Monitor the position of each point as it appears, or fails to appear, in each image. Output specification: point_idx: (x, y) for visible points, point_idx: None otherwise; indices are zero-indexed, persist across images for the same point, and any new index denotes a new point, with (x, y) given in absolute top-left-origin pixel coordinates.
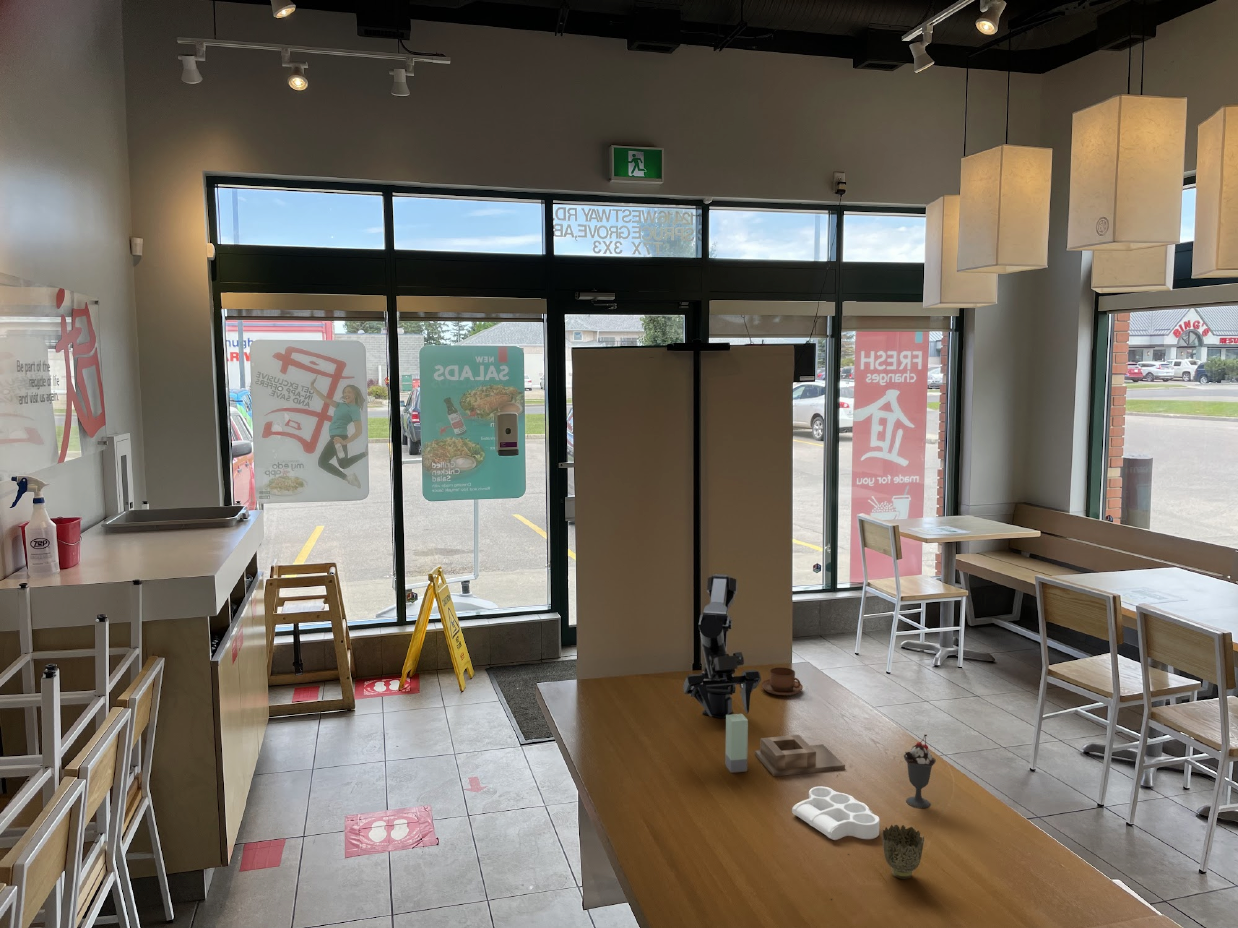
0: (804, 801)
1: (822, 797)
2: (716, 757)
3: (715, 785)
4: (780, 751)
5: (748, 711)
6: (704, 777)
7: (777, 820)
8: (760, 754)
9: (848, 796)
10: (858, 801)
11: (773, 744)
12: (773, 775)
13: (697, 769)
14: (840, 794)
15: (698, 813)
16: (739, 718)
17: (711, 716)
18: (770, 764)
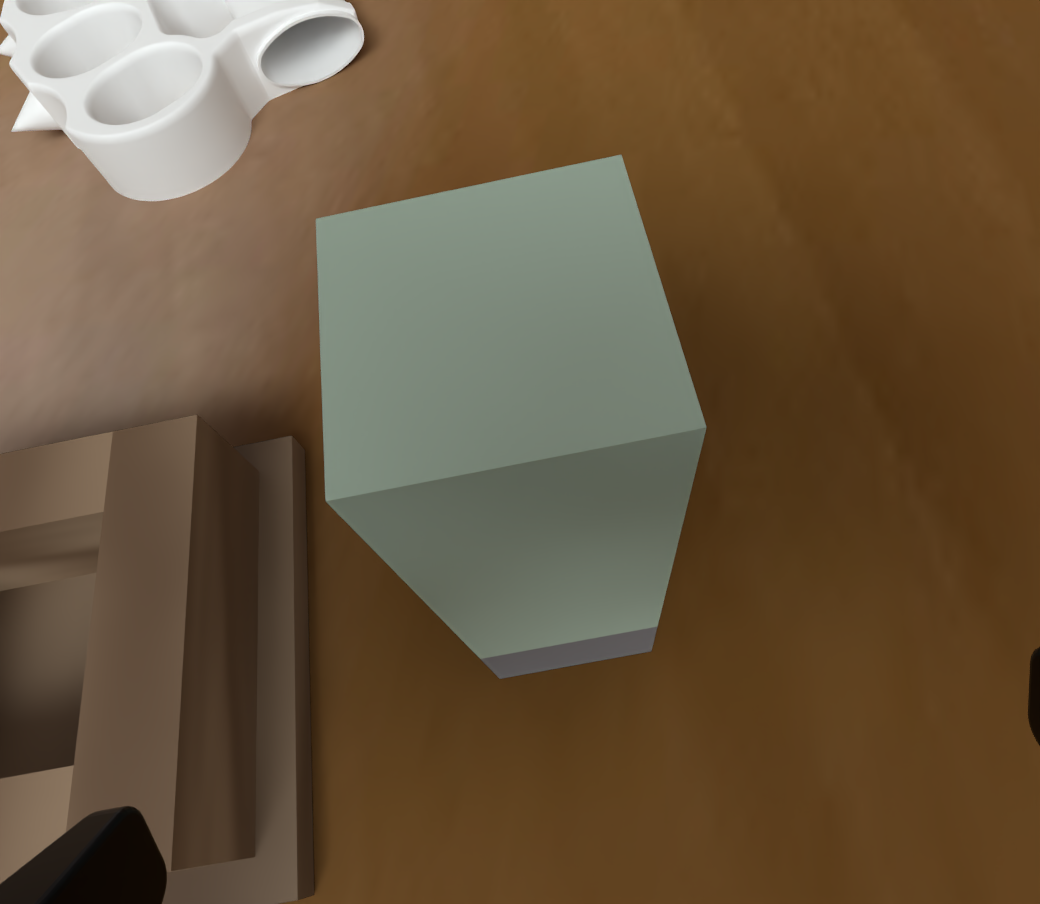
0: (279, 5)
1: (166, 42)
2: (728, 843)
3: (756, 318)
4: (121, 497)
5: (103, 810)
6: (845, 430)
7: (453, 26)
8: (276, 787)
9: (29, 62)
10: (15, 29)
11: (108, 666)
12: (303, 450)
13: (918, 571)
14: (55, 81)
15: (863, 41)
16: (448, 275)
17: (1035, 711)
18: (265, 567)
